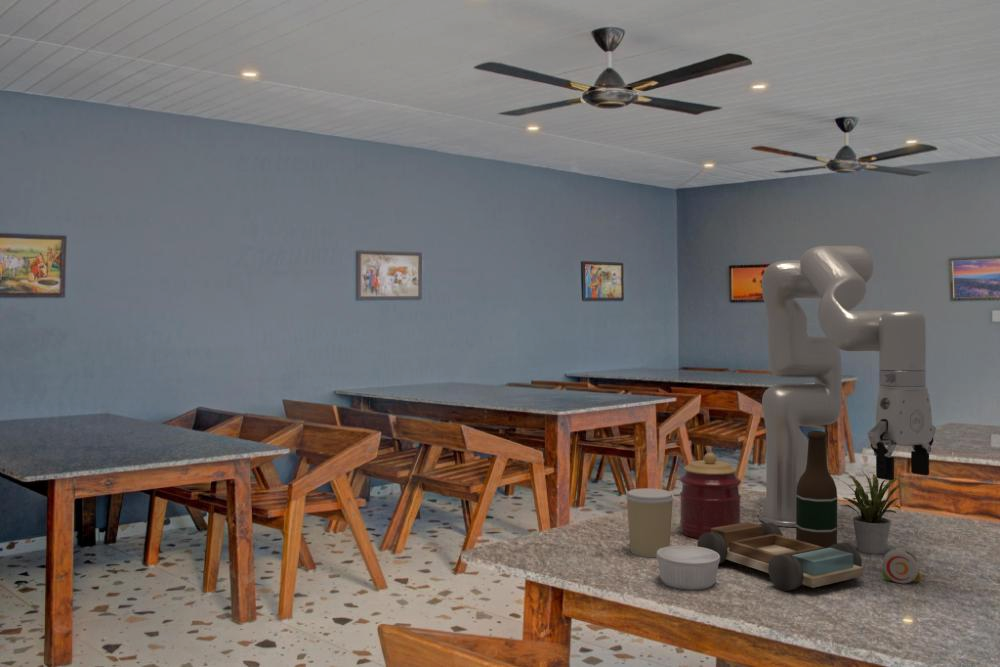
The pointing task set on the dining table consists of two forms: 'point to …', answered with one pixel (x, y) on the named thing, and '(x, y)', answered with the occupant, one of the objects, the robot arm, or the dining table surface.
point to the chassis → (783, 555)
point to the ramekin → (688, 566)
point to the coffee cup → (649, 520)
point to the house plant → (872, 515)
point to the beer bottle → (816, 497)
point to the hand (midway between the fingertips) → (902, 476)
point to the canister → (709, 496)
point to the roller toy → (901, 566)
